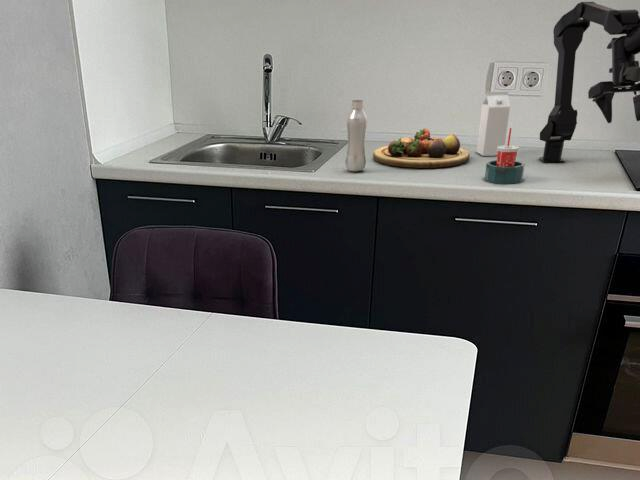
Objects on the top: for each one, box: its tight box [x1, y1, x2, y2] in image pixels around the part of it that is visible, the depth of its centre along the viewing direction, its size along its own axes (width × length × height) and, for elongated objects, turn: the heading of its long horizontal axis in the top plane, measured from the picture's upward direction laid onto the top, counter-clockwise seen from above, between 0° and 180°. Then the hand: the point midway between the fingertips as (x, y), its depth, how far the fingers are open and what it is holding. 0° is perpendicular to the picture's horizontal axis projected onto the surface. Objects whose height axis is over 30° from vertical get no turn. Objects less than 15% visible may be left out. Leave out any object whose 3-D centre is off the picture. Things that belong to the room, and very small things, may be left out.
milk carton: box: [476, 90, 511, 157], centre depth 244 cm, size 7×7×19 cm
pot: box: [484, 159, 526, 185], centre depth 216 cm, size 11×14×4 cm
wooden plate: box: [372, 128, 471, 169], centre depth 242 cm, size 32×32×8 cm
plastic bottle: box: [345, 99, 368, 173], centre depth 226 cm, size 6×7×20 cm
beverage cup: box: [496, 127, 520, 167], centre depth 214 cm, size 6×6×14 cm
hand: (624, 121), depth 204 cm, fingers open, 9 cm apart
